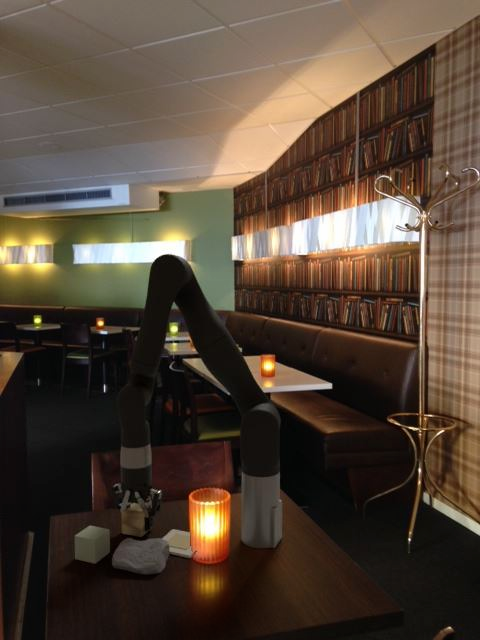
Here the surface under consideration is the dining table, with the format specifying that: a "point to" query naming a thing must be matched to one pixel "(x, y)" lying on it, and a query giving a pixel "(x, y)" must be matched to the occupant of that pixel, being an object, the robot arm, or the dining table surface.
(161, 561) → the stone block
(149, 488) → the robot arm
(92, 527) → the sage green cube
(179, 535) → the card
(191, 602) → the dining table surface
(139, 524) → the maple cube
